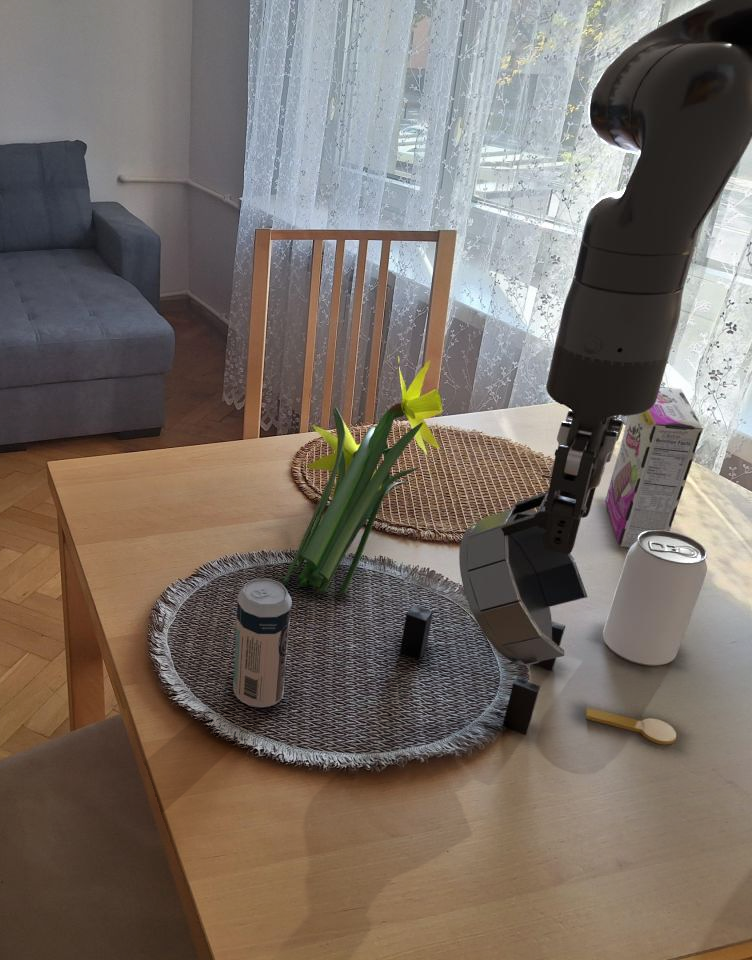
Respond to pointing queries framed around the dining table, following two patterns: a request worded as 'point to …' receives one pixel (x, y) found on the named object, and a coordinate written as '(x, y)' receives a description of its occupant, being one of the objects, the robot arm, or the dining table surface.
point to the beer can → (261, 642)
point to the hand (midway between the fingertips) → (565, 530)
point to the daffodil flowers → (359, 485)
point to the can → (655, 597)
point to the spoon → (636, 725)
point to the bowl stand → (521, 691)
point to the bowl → (517, 581)
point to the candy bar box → (652, 467)
